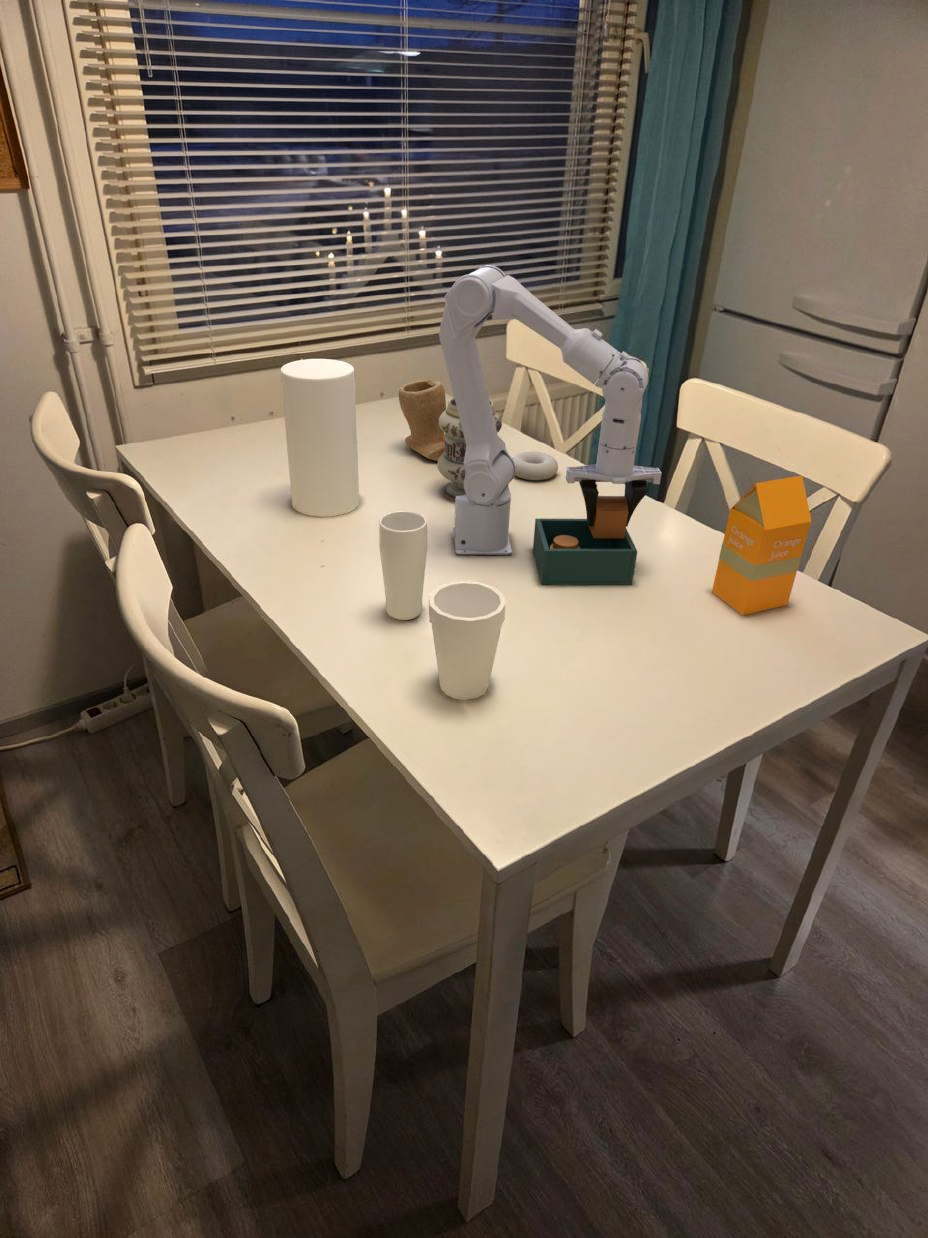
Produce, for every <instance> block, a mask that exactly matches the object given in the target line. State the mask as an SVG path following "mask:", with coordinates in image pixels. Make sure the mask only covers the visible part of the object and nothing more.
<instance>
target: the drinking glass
mask: <svg viewBox="0 0 928 1238" xmlns="http://www.w3.org/2000/svg"><path fill="white" fill-rule="evenodd" d="M378 542H379V543H378V546H379V555H380V563H381V571H382V580H383V587H384V595H385V611H386V613H387V615H388V616H389V617H390V618H392V619H394V620H397V621H409V620H413V619H416V618H418V617H419V615H421V614H422V611H423V594H424V582H425V576H426V575H425V574H426V573H425V572H426V563H427V555H428V521H427V518H425V516H424V515H422V514H420V513H418V512H414V511H408V510H407V511H406V510H401V511H400V510H398V511H393V512H389V513H386V514H384V515H382V516H381V517H380V519H379V524H378Z"/></svg>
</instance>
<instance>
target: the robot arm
mask: <svg viewBox="0 0 928 1238" xmlns="http://www.w3.org/2000/svg"><path fill="white" fill-rule="evenodd" d="M444 301H445V302H444V303H445V306H444V308H443V309H444V310H443V314H442V317H441V322H440V326H439V330H438V337H439V342H440V346H441V350H442V354H443V358H444V362H445V366H446V369H447V375H448V377H449V382H450V387H451V389H452V390H451V391H452V394H453V397H454V398H455V402H456V406H457V410H458V414H459V418H460V422H461V426H462V430H463V434H464V438H465V442H466V452H465V458H464V467H465V479H464V490H465V492H466V495H462V496H456V498H455V501H454V526H453V527H452V538H453V539H454V547H455V548H454V549H455V554H456V555H498V556H499V555H505V556H507V555H508V556H509V555H512V554H513V549H512V545H511V541H510V535H509V530H510V516H511V515H510V514H511V500H512V493H511V491H510V488H509V484H511V482H512V481H513V480H514V478H515V477H516V475H515V473H516V466H515V462H514V460H513V456H511V455H510V454H509V452H508V450H507V446H506V442H505V441H504V440H503V439H502V438H501V437H500V436H499V435H498V433H497V430H496V426H495V422H494V418H493V413H492V409H491V405H490V400H491V399H490V397H489V392H488V388H487V384H486V379H485V375H484V371H483V366H482V362H481V358H480V354H479V353H480V352H479V349H478V345H477V341H476V340H477V339H476V337H477V334H479V332H480V331H481V329H482V327H483V326H484V324H485V323H486V321H487V319H488V318H489V317H490V316H491V315H492V316H491V319H492V320H517V321H518V322H520V323H521V324H522V325H524V326H526V327H527V328H528V329H530V330H531V331H533V332H535V333H536V334H537V335H539V336H540V337H542V338H544V339H545V340H547V341H548V342H549V343H551V344H553V345H554V346H555V347H557V348H558V349H560V352H561V357H562V362H563V363H564V364H566V365H567V366H568V367H570V368H571V369H572V370H574V371H575V372H576V373H578V374H579V375H580V376H582V377H583V378H584V379H586V380H587V381H589V382H590V383H591V384H592V385H594V386H595V387H597V388H600V389H601V392H602V396H603V398H604V400H605V401H604V408H603V409H604V410H603V411H602V415H601V424H600V430H599V431H600V432H599V439H598V447H597V454H596V462H595V463H593V464H586V465H579V466H567V467H566V473H565V481H566V482H567V484H575V483H578V485H579V487H580V489H581V493H582V496H583V500H584V505H585V513H586V519H587V523H588V526H593V523H594V516H595V506H596V501H597V497H598V496H599V490H598V484H597V483H611V484H613V485H624V495H623V496H625V497H626V498H627V502H628V518H627V524H626V527H628V525H629V524H630V521H631V519H632V516H633V514H634V512H635V510H636V509H637V507H638V505H639V504H640V502H641V501H642V500H643V499H644V498H645V497H646V495H647V494H648V491H649V490H648V489H649V488H648V486H647V483H652V485H660V484H661V479H662V473H663V472H662V471H661V470H660V468H659V467H649V466H648V467H647V466H640V465H635V461H636V455H637V454H636V453H637V447H638V441H639V440H638V439H639V433H640V427H641V421H642V413H641V412H642V409H643V396H644V392H645V390H646V389H647V386H648V385H649V384H648V383H649V372H648V369H647V367H646V366H645V364H643V363H642V361H641V360H640V359H639V358H637V357H634V356H629V354H628V353H627V352H626V351H622V352H620V351H619V350H617V349H616V348H614V347H613V346H612V345H611V344H610V343H608V342H607V341H605V340H604V339H603V338H602V336H603V333H602V332H601V331H600V330H599V329H597V328H596V329H594V330H593V331H592V330H591V329H590V328H588V327H584V328H583V327H582V328H576V329H575V328H573V327H572V326H571V325H570V324H569V323H567V322H566V321H565V320H564V319H563V318H562V317H560V316H559V315H558V314H557V313H556V312H554V311H553V310H552V309H551V308H549V306H547V305H546V304H544V303H543V302H542V301H541V300H540V299H539V298H537V297H536V296H535V295H534V294H533V293H531V292H530V291H529V290H528V289H527V288H525V286H524V285H522V284H521V282H519V281H518V280H517V279H516V278H515V277H513V276H511V275H509V274H507V275H506V274H505V272H504V271H503V270H502V269H500V267H498V266H495V265H489V264H487V265H482V266H480V267H479V268H477V269H476V270H475V271H472V272H470V273H469V274H465V275H464V274H463V275H462V276H460V277H458V278H457V279H456V280H455V282H454V283H453V284H452V286H451V287H450V288H449V290H448V291H447V293H446V294H445V295H444ZM489 399H490V400H489Z"/></svg>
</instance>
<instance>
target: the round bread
mask: <svg viewBox="0 0 928 1238" xmlns="http://www.w3.org/2000/svg"><path fill="white" fill-rule="evenodd" d="M550 549H580V547H579V546H578V540H577V539H576V538H575V537H572V536H568V535H560V536H557V537H555V538H554V541H553V544H551V546H550Z"/></svg>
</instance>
